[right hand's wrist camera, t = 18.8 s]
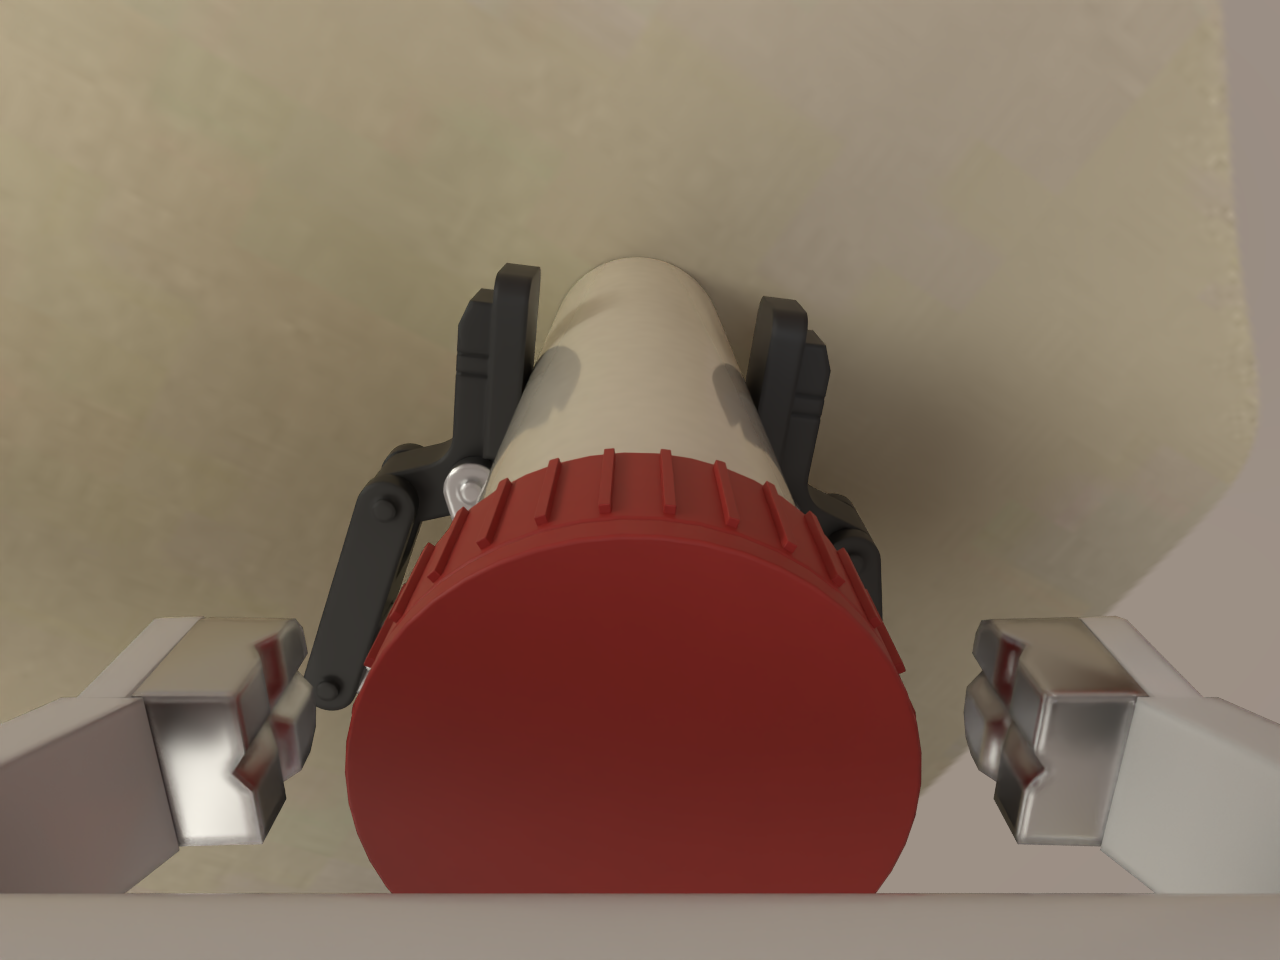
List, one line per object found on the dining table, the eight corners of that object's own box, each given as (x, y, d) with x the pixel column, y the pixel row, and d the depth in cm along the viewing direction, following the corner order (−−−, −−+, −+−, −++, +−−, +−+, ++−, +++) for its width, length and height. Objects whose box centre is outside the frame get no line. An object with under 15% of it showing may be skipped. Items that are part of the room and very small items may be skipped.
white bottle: (538, 403, 26) (364, 890, 10) (571, 238, 24) (428, 484, 8) (697, 438, 26) (795, 963, 10) (740, 279, 25) (945, 593, 8)
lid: (977, 658, 10) (1054, 781, 8) (646, 925, 12) (647, 1081, 10) (619, 334, 9) (613, 392, 7) (295, 682, 10) (218, 810, 8)
